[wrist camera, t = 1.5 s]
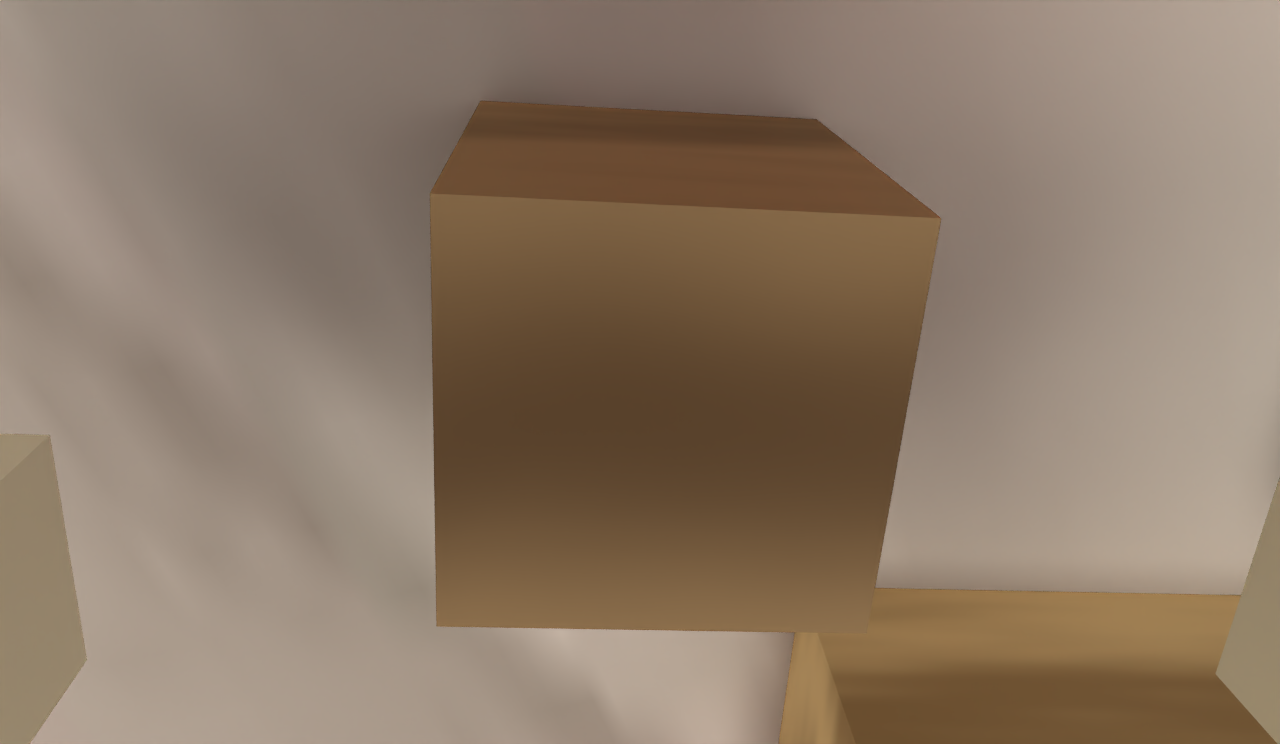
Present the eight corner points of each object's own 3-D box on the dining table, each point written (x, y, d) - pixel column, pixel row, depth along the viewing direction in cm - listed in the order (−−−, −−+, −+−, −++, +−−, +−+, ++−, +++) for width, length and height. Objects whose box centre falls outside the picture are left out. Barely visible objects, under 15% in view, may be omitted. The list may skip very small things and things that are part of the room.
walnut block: (480, 99, 18) (430, 193, 12) (816, 118, 19) (941, 218, 12) (479, 409, 21) (436, 626, 14) (778, 418, 21) (866, 633, 15)
